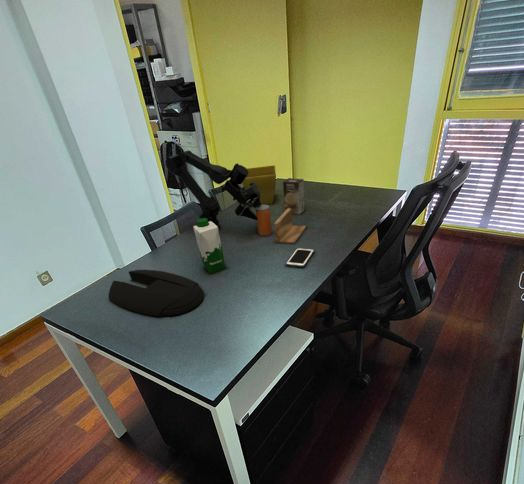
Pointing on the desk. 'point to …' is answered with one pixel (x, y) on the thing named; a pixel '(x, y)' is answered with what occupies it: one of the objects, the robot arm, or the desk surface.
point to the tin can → (263, 220)
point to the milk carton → (209, 245)
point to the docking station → (157, 293)
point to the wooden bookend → (287, 229)
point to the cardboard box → (262, 182)
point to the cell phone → (300, 257)
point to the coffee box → (294, 195)
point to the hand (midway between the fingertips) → (261, 215)
